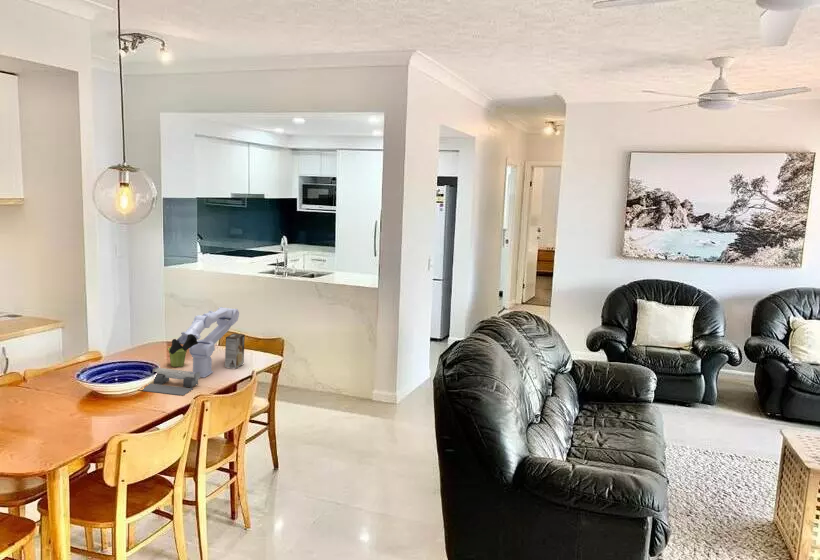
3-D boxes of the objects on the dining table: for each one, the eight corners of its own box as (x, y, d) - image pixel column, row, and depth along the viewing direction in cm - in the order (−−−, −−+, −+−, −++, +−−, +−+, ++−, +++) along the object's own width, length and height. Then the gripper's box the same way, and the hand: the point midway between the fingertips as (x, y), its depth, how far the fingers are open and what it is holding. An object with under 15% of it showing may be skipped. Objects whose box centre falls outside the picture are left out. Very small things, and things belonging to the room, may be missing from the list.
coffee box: (232, 363, 314) (233, 332, 311) (244, 364, 313) (245, 334, 310) (224, 367, 305) (225, 336, 302) (236, 369, 304) (237, 338, 301)
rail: (157, 373, 278) (157, 367, 278) (199, 378, 276) (199, 372, 276) (152, 376, 274) (152, 369, 274) (195, 381, 272) (195, 374, 272)
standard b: (161, 379, 280) (161, 370, 279) (169, 380, 279) (169, 371, 279) (153, 383, 274) (153, 374, 273) (162, 384, 273) (162, 375, 273)
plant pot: (191, 364, 306) (191, 347, 305) (179, 369, 297) (180, 352, 296) (175, 361, 308) (175, 345, 307) (163, 366, 299) (163, 349, 298)
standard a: (189, 383, 278) (189, 374, 278) (197, 383, 278) (198, 375, 277) (183, 387, 272) (183, 378, 272) (191, 388, 272) (191, 379, 271)
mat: (149, 384, 272) (149, 383, 272) (193, 389, 270) (193, 388, 270) (137, 390, 264) (137, 389, 263) (183, 395, 261) (183, 395, 261)
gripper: (176, 329, 281) (160, 347, 270) (199, 322, 276) (184, 340, 264) (184, 341, 284) (169, 359, 273) (208, 334, 279) (193, 352, 267)
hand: (177, 350), depth 269 cm, fingers open, 7 cm apart
